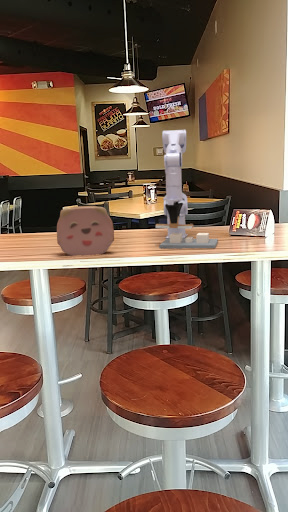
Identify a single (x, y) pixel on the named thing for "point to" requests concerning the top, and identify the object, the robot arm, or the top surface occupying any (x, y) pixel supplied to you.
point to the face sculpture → (84, 230)
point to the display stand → (189, 241)
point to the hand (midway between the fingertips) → (174, 222)
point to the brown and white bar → (174, 225)
